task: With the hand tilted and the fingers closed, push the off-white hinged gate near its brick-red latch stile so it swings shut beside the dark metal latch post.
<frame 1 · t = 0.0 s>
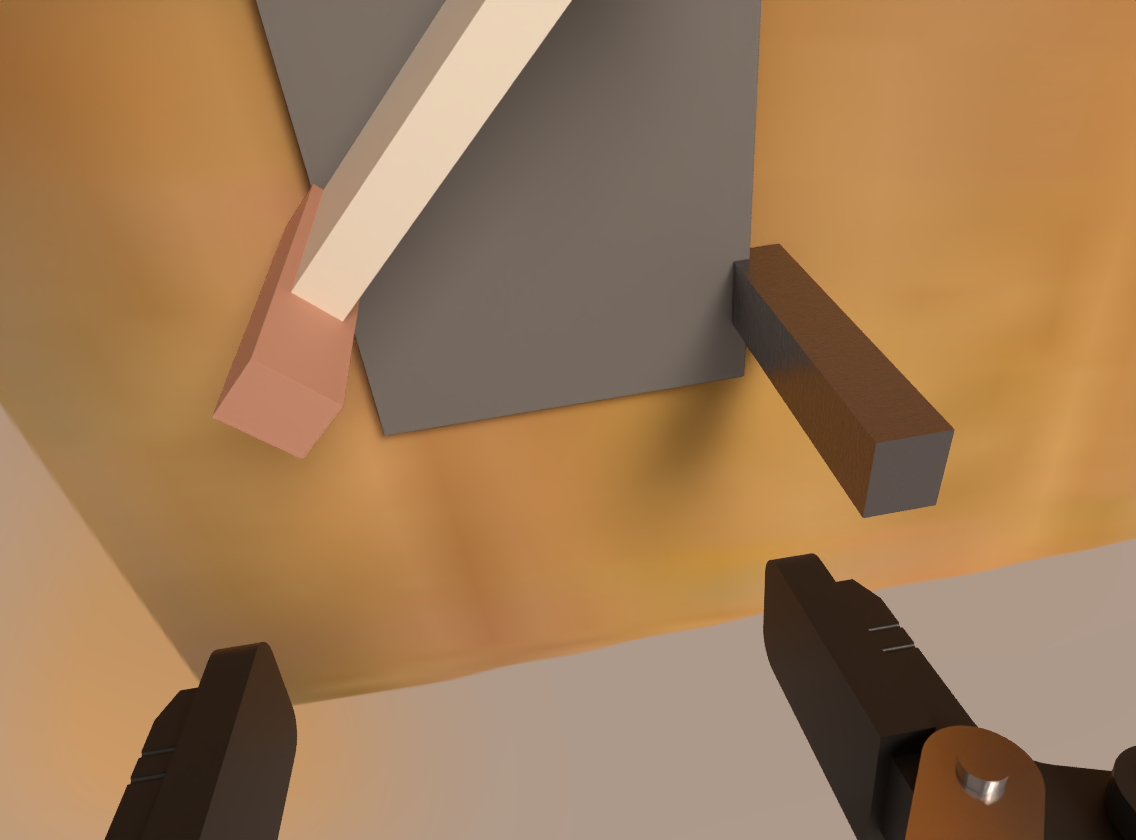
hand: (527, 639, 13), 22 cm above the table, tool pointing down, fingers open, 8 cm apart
gate: (464, 68, 21), point 8 cm above the table, hinge at -45.0°
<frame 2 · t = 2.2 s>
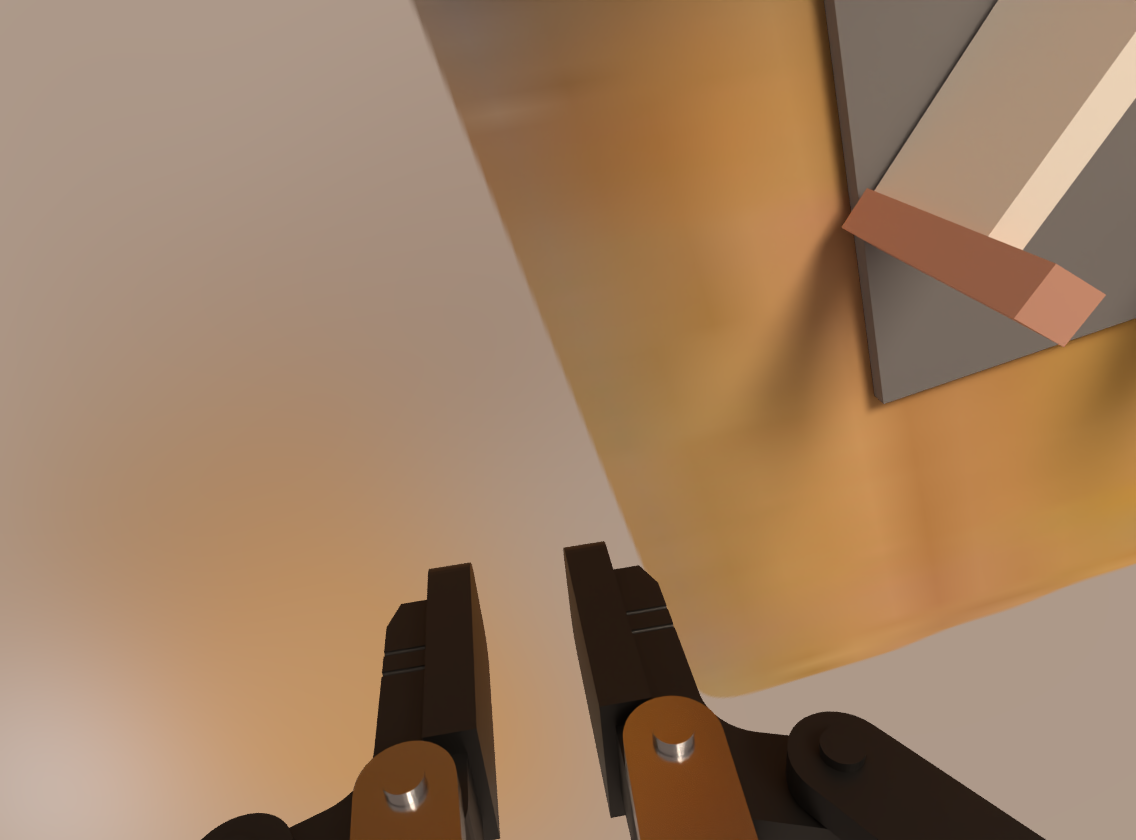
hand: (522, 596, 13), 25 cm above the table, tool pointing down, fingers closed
gate: (1097, 47, 28), point 8 cm above the table, hinge at -45.0°
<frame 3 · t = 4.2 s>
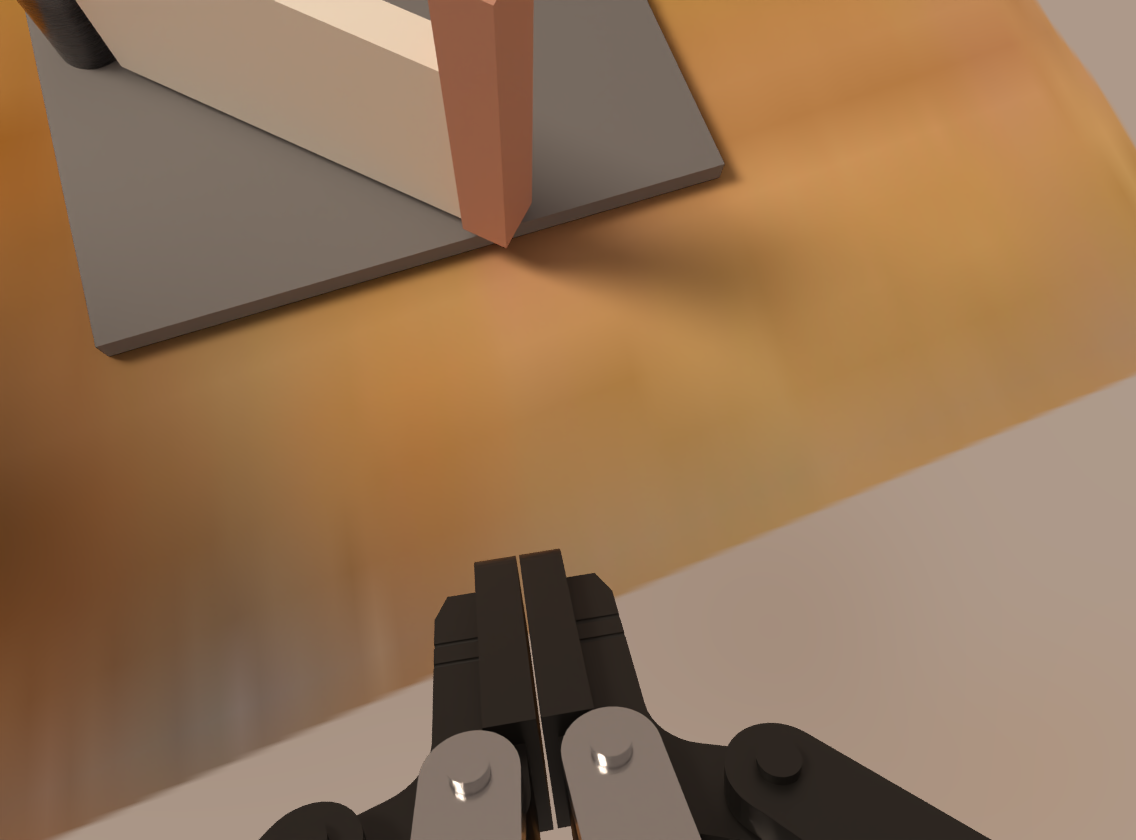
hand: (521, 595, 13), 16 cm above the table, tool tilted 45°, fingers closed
gate posts: (104, 58, 35), on the table
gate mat: (104, 58, 35), on the table
gate: (275, 22, 27), point 8 cm above the table, hinge at -45.0°
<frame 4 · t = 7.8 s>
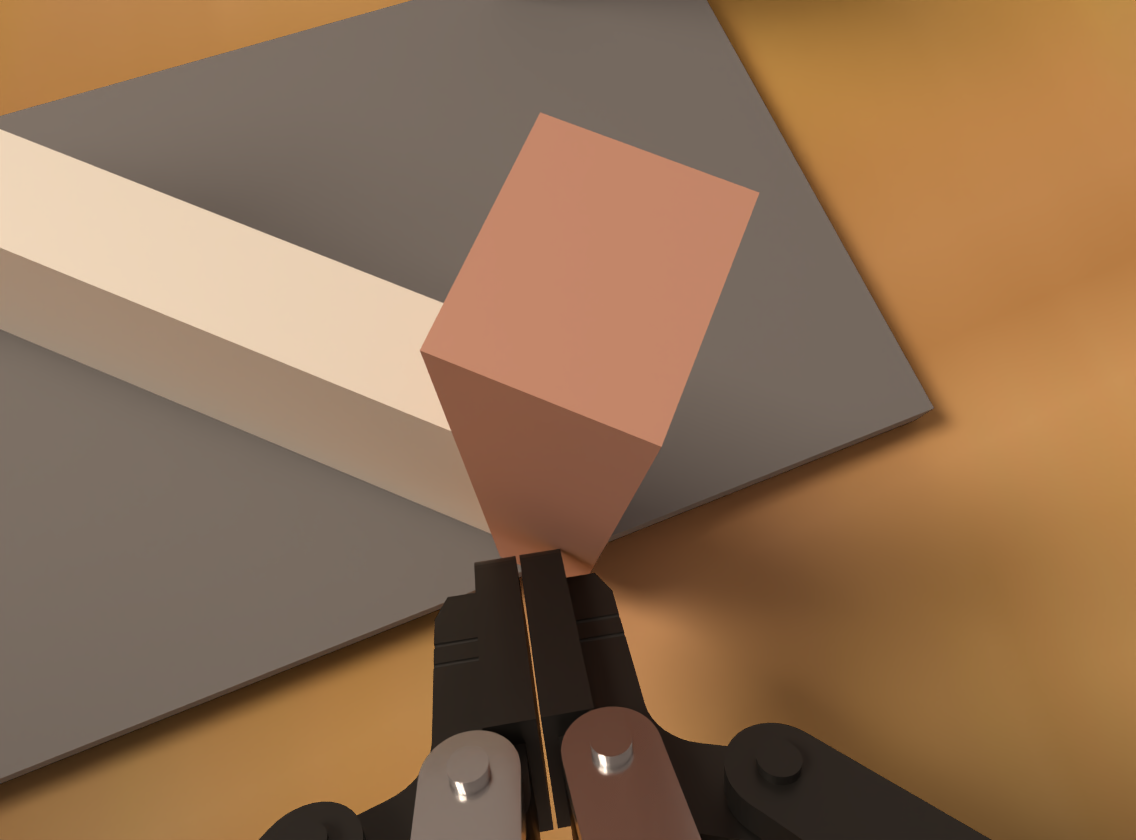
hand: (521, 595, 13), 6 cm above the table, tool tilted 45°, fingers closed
gate: (105, 271, 13), point 8 cm above the table, hinge at -43.9°, touching gripper
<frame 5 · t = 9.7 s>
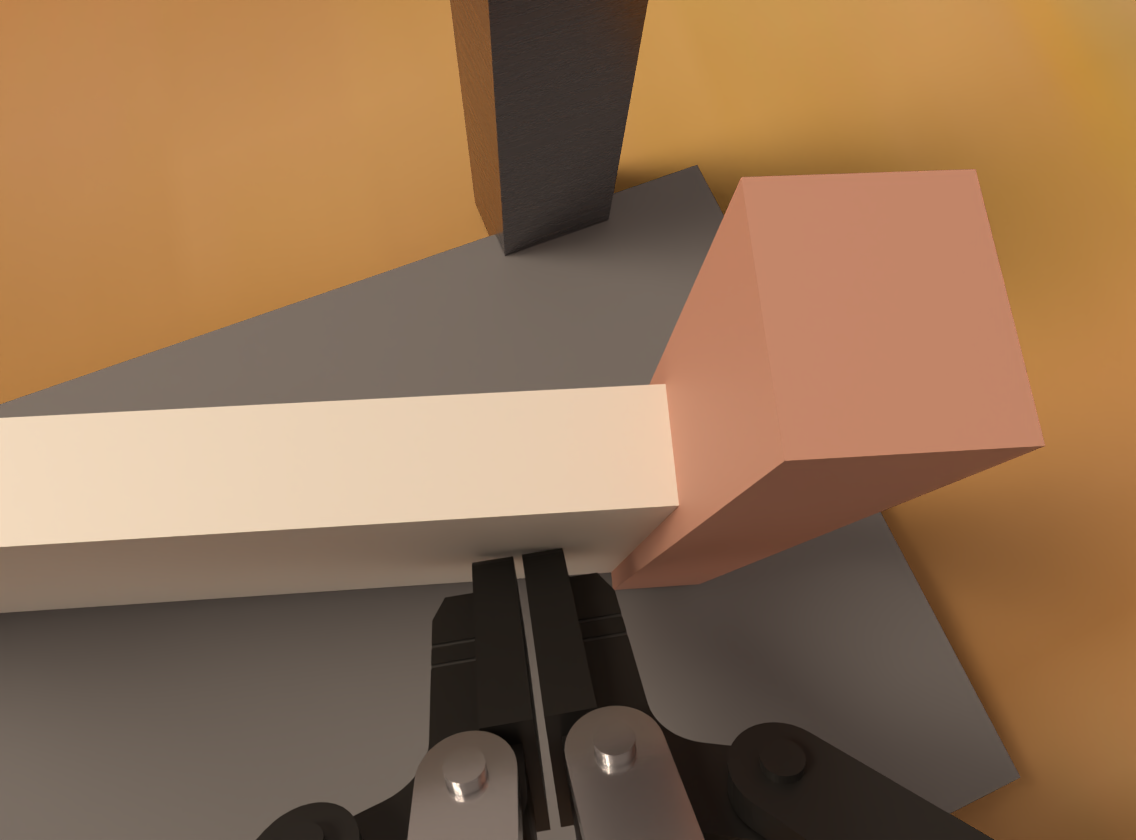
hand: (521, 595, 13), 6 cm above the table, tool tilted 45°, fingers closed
gate: (158, 509, 12), point 8 cm above the table, hinge at -18.7°, touching gripper
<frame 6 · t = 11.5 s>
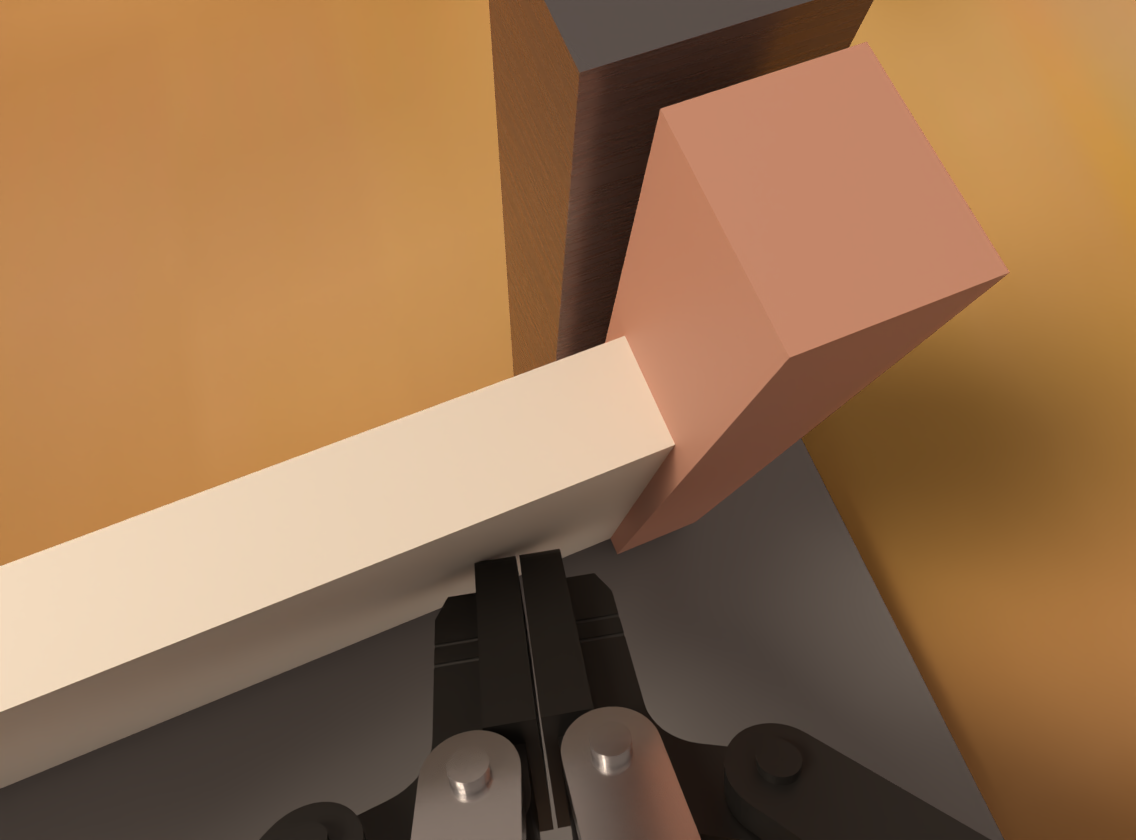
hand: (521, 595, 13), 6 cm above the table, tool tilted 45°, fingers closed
gate: (160, 618, 11), point 8 cm above the table, hinge at 0.1°, touching gripper
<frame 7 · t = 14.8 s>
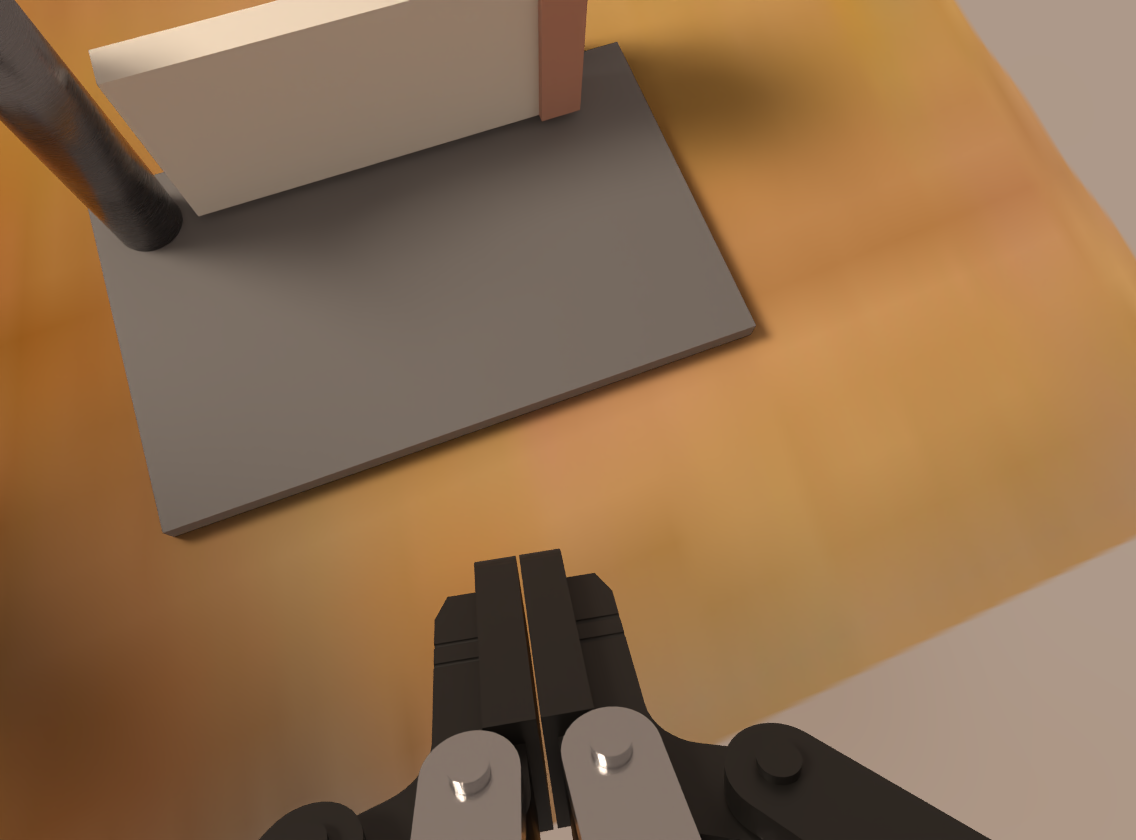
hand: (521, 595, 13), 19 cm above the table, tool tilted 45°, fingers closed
gate posts: (159, 234, 37), on the table
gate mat: (159, 234, 37), on the table
gate: (359, 45, 31), point 8 cm above the table, hinge at 0.1°
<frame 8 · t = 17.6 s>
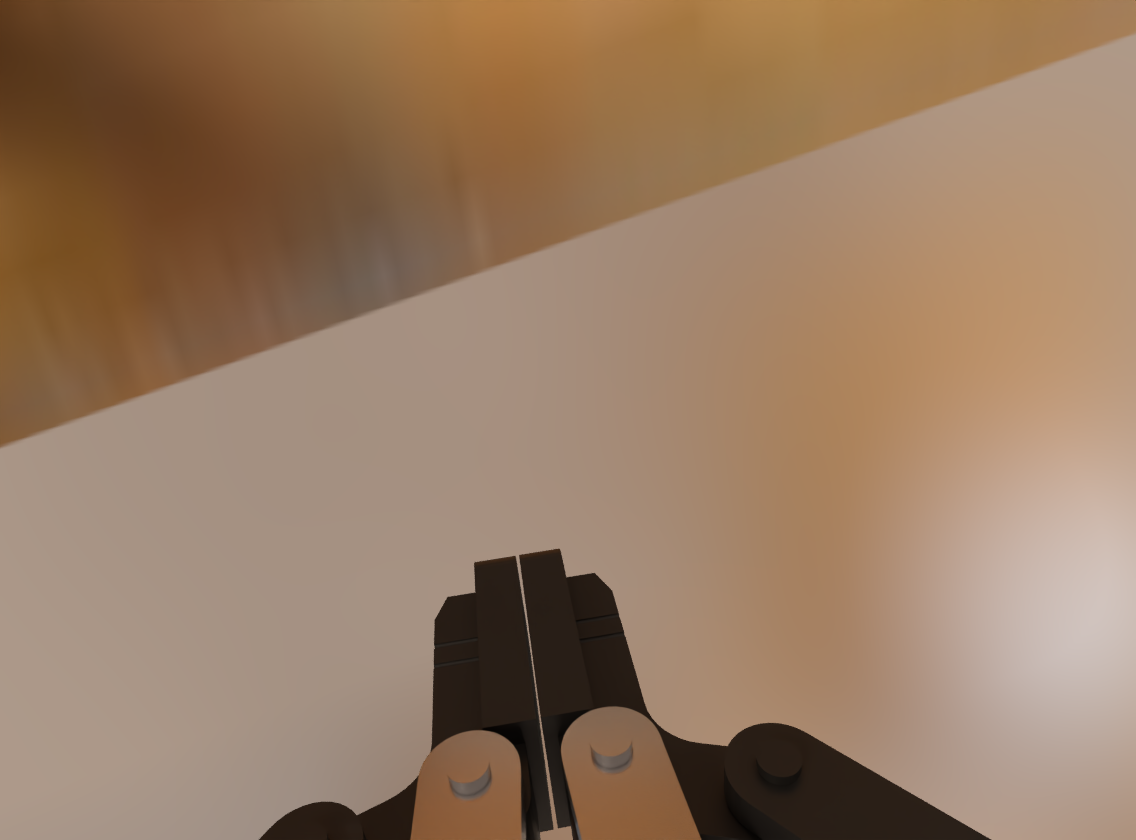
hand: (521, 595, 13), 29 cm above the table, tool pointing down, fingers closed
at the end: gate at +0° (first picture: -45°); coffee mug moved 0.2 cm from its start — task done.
